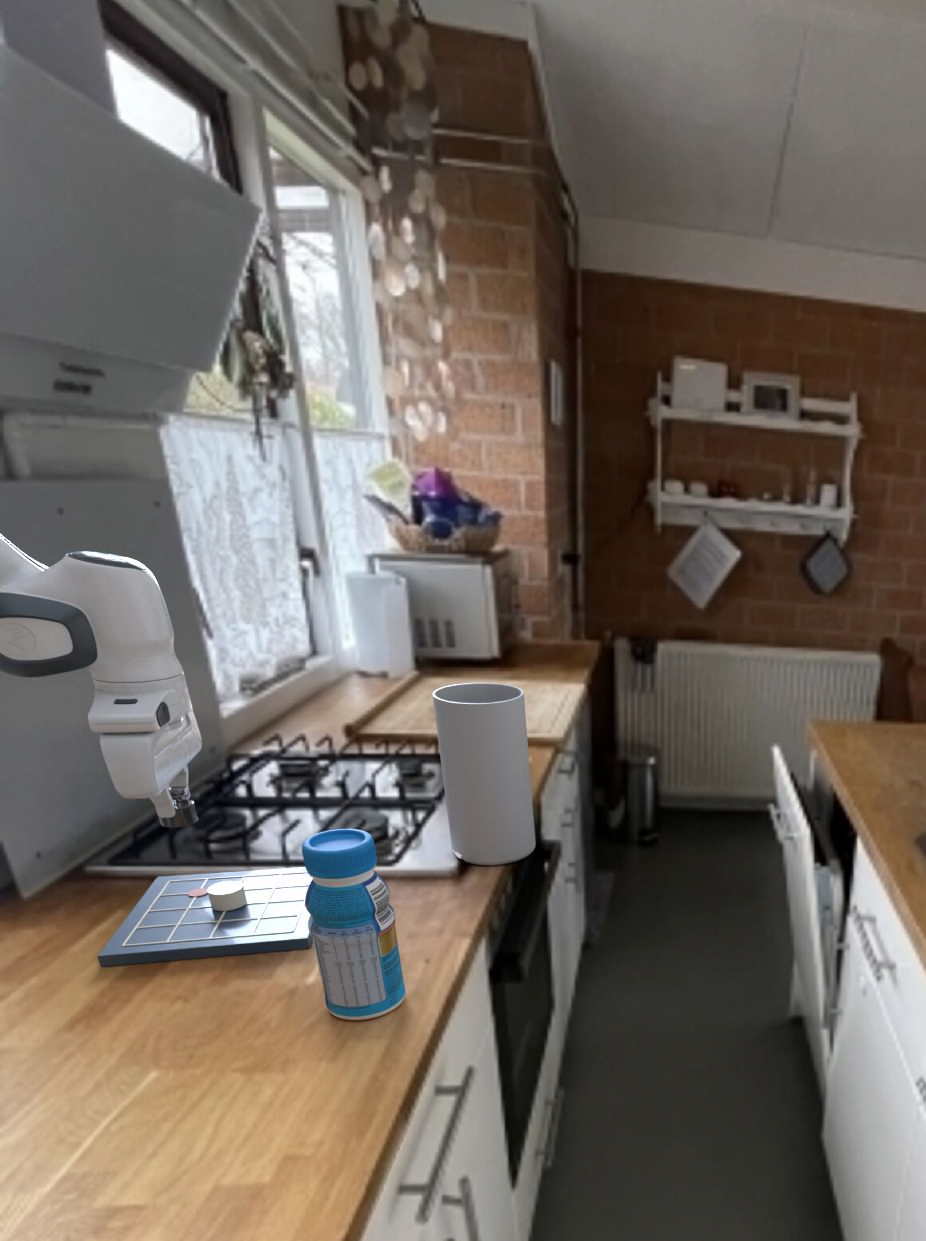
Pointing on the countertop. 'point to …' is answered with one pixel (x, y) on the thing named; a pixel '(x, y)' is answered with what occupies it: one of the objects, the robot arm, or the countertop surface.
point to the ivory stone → (227, 896)
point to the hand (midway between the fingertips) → (175, 808)
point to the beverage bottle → (352, 925)
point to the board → (213, 919)
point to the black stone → (181, 815)
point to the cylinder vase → (486, 771)
